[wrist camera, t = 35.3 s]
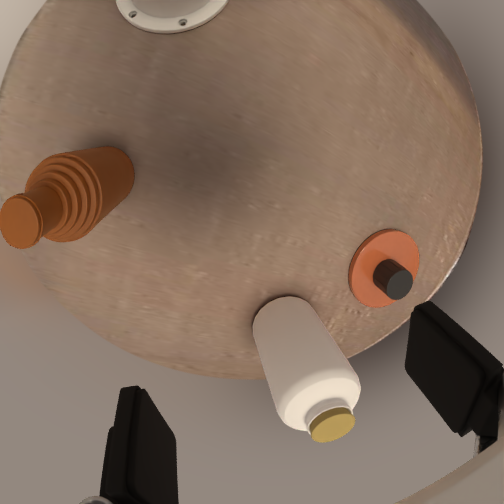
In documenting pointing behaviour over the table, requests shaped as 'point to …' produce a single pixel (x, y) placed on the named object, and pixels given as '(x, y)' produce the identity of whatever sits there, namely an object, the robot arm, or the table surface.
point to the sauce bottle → (67, 196)
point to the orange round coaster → (373, 253)
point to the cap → (392, 279)
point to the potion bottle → (305, 369)
